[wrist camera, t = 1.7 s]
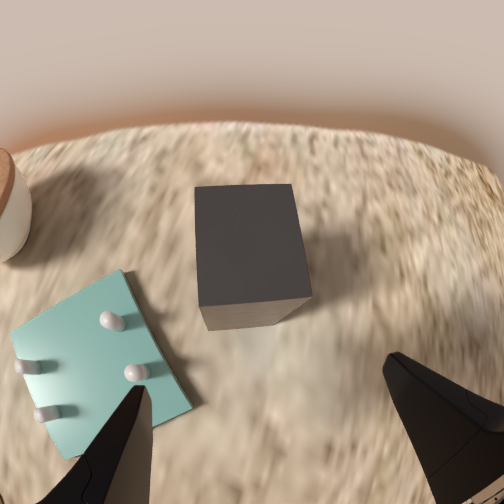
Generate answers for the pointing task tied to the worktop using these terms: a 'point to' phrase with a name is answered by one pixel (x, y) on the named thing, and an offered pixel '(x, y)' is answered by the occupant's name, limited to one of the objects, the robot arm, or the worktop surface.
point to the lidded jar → (13, 208)
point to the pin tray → (93, 363)
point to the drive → (249, 255)
